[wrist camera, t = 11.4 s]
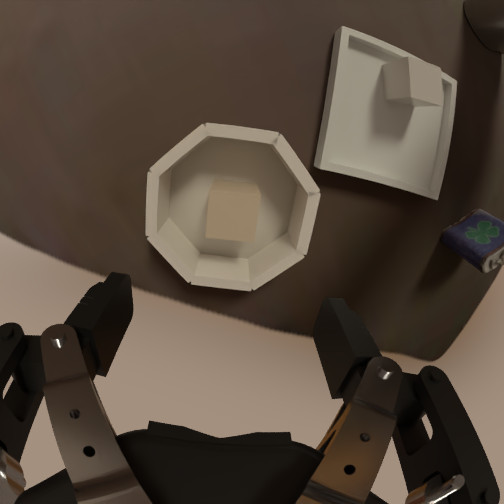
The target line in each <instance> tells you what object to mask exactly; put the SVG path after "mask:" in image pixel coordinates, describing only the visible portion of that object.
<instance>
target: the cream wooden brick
mask: <svg viewBox="0 0 504 504" xmlns="http://www.w3.org/2000/svg"><path fill="white" fill-rule="evenodd" d="M260 198H261V194H260V191H259V188H258V185H257V183H250V182H241V181H231V180H221V179H214V181H213V183H212V185H211V187H210V189H209V198H208V210H207V223H206V237H205V238H214V239H224V240H234V241H244V242H254V240H255V233H256V226H257V219H258V212H259V205H260Z"/></svg>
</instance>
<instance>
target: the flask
mask: <svg viewBox="0 0 504 504" xmlns="http://www.w3.org/2000/svg"><path fill="white" fill-rule="evenodd" d="M440 239H441V243H442V244H444V245H445V246H447V247H448V248H450V249H451V250H452V251H454V252H455V253H457V254H458V255H460V256H461V257H463V258H464V259H465V260H466V261H468V262H469V263H471V264H472V265H473V266H474V267H476V268H477V269H478V270H479V271H481V272H482V273H487V272H489V271H491V270H492V269H494V268H496V267H497V266H499V265H500V264H501V265H504V222H503V221H501V220H500V219H498V218H496V217H494V216H492V215H490V214H489V213H487V212H485V211H483V210H482V209H475V210H473V211H472V213H470V214H469V215H466V216H464V217H463V218H461V220H460V221H459V222H458V223H457V222H456V223H455V224H454V225H453V226H451V225H450V226H449V227H447V228H446V229H444V230H443V231H442V233H441V235H440Z"/></svg>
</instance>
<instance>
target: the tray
mask: <svg viewBox="0 0 504 504" xmlns="http://www.w3.org/2000/svg"><path fill="white" fill-rule="evenodd" d="M407 56H409V57H412V58H415V59H418V60H421V59H419V58H417V57H415V56H413V55H411V54H409V53H407V52H405V51H403V50H401V49H399V48H397V47H395V46H393V45H390V44H388V43H386V42H384V41H381V40H379V39H376V38H374V37H372V36H369V35H366V34H364V33H361V32H358V31H356V30H353V29H350V28H347V27H344V26H341V27H340V28H339V29H338V30H337V31H336V32H335V36H334V43H333V51H332V58H331V66H330V73H329V79H328V86H327V92H326V99H325V105H324V111H323V117H322V123H321V128H320V134H319V139H318V145H317V150H316V156H315V161H314V166H315V167H317V168H319V169H323V170H328V171H332V172H337V173H341V174H346V175H350V176H354V177H358V178H362V179H366V180H370V181H374V182H378V183H382V184H385V185H389V186H392V187H396V188H399V189H403V190H406V191H410V192H413V193H416V194H419V195H422V196H426V197H429V198H432V199H435V200H438V197H439V193H440V189H441V185H442V181H443V177H444V172H445V168H446V163H447V158H448V153H449V147H450V141H451V135H452V128H453V121H454V112H455V102H456V90H457V81H456V80H454V79H453V78H451V77H450V76H448V75H447V74H445V73H443V72H442V71H441V77H442V92H443V106H429V107H413V106H409V105H405V104H400V103H396V102H391V101H386V100H384V87H383V69H382V65H383V64H386V63H389V62H392V61H395V60H398V59H401V58H404V57H407ZM421 61H423V60H421Z"/></svg>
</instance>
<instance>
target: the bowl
mask: <svg viewBox="0 0 504 504" xmlns="http://www.w3.org/2000/svg"><path fill="white" fill-rule="evenodd" d="M150 170H151V171H149V172H148V177H147V197H146V236H149V237H148V238H147V239H148V240H149V242H150V243H151V244H152V245H153V246H154V247H155V248H156V249H157V250H158V251H159V253H160V254H161V255H162V256H163V257H164V258H165V259H166V260H167V261H168V262H169V263H170V264H171V265H172V267H173V268H174V269H175V270H176V271H177V272H178V273H179V274H180V275H181V276H182V277H183V278H184V279H185V280H186V281H187V282H188V283H189V282H191V284H192V285H200V286H208V287H217V288H226V289H235V290H244V291H251V289H253V290H256V289H257V288H259V287H260V286H262V285H263V284H265V283H266V282H268V281H269V280H271V279H273V278H274V277H276V276H277V275H279V274H280V273H282V272H283V271H285V270H286V269H288V268H289V267H291V266H292V265H294V264H295V263H297V262H298V261H300V260H301V259H303V258H304V255H306V254H307V250H308V246H309V242H310V238H311V234H312V230H313V226H314V221H315V217H316V213H317V208H318V204H319V199H320V195H321V194H320V193H319V191H320V190H319V188H318V187H317V185H316V183H315V182H314V180H313V179H312V177H311V176H310V174H309V173H308V171H307V170H306V168H305V167H304V165H303V164H302V163H301V161H300V160H299V158H298V157H297V155H296V154H295V152H294V151H293V150H292V148H291V147H290V145H289V144H288V143H287V141H286V140H285V138H284V137H283V136H282V134H278V132H273V131H267V130H261V129H254V128H247V127H240V126H232V125H223V124H213V123H206V125H205V124H202V125H201V126H199V127H198V128H197V129H195V130H194V131H193V132H192V133H190V134H189V135H188V136H187V137H186V138H184V139H183V140H182V141H181V142H179V143H178V144H177V145H176V146H175V147H174V148H172V149H171V150H170V151H169V152H168V153H167V154H165V155H164V156H163V157H162V158H161V159H160V160H159V161H158V162H156V163H155V164H154V165H153V166H152V167H151V168H150ZM214 179H221V180H231V181H241V182H250V183H257V185H258V188H259V191H260V194H261V198H260V205H259V212H258V219H257V226H256V233H255V240H254V242H244V241H234V240H224V239H214V238H205V237H206V223H207V210H208V198H209V189H210V187H211V185H212V183H213V181H214ZM303 254H304V255H303Z"/></svg>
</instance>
